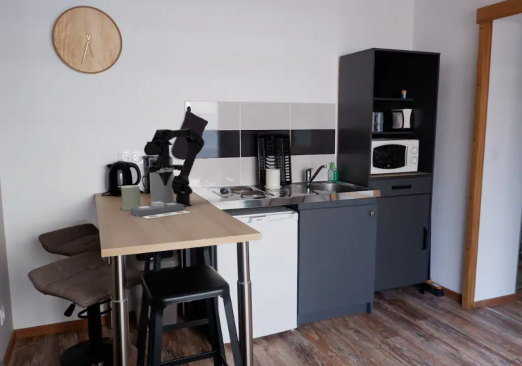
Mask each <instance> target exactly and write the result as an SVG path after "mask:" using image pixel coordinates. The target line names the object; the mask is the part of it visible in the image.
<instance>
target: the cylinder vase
mask: <svg viewBox="0 0 522 366" xmlns="http://www.w3.org/2000/svg"><path fill="white" fill-rule="evenodd" d="M157 157H158V156H156V157H148V166H150V160H157ZM170 157H171V159H170V165H171V166H172V165H174V164H173V157H172V156H170ZM166 168H168V167H166ZM164 171H165V170H164ZM156 172H157V171H156ZM156 172H155V173H149V189H150V203H151V202H157V201H161V202H164V204H165V203H173V202H175V194H174V192H173V189H172V181H173V178H174V170H172V172H173V173H172V174H171V176H170V178H169V180H168V183H167V185H166V186H164V184H163V182H162V179H161V177H160V176H159V174H158V173H156Z"/></svg>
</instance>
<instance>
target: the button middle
mask: <svg viewBox="0 0 522 366" xmlns="http://www.w3.org/2000/svg"><path fill="white" fill-rule="evenodd" d="M150 205H151V207H155V208H156V207H163V206H164V202H161V201H157V202H151V201H150Z"/></svg>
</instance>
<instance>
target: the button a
mask: <svg viewBox="0 0 522 366" xmlns="http://www.w3.org/2000/svg"><path fill="white" fill-rule="evenodd" d="M148 206H149V205H143V207H142V206H141V207H138V209H148V208H150V207H148Z"/></svg>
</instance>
